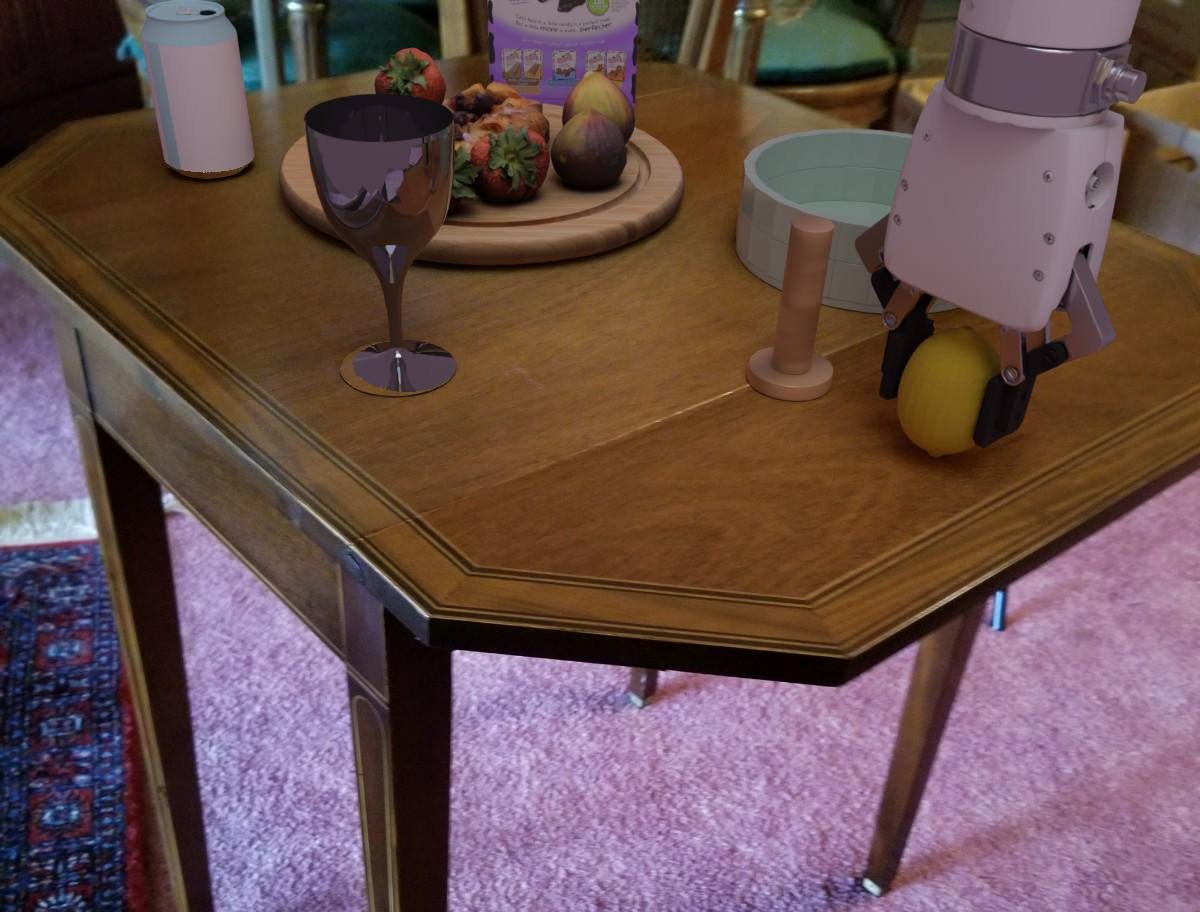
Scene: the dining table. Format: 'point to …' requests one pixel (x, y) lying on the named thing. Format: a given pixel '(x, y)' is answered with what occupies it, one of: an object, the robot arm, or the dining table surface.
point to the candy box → (562, 45)
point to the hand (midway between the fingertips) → (945, 411)
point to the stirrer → (798, 319)
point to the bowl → (820, 204)
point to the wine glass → (386, 209)
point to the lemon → (946, 389)
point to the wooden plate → (526, 171)
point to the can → (197, 86)
